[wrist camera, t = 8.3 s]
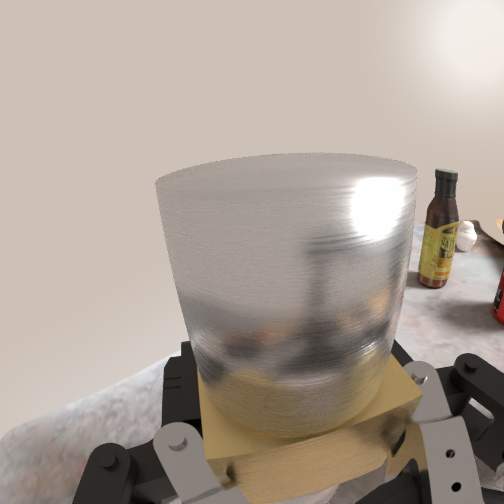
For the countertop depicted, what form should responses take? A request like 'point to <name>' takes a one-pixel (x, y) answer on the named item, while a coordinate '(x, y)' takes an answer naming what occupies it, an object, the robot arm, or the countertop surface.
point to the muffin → (465, 236)
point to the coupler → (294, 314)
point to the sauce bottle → (439, 232)
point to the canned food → (499, 301)
